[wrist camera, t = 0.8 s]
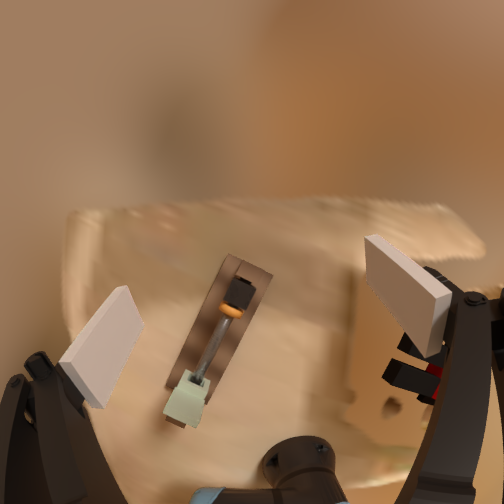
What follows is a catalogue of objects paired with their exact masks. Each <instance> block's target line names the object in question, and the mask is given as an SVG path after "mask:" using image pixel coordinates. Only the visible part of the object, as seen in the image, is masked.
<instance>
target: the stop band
mask: <svg viewBox="0 0 504 504" xmlns="http://www.w3.org/2000/svg"><path fill="white" fill-rule="evenodd" d="M219 310H221V311H222V312H224V313H225V314H227V315H229V316H231V317H234V318H237V319H241V317H242V315H243V313H244V311H243V310H242V309H240V308H239V309H235V308H233V307H231V306H229V305H228V302H226V301H222V302H221V304H220V306H219Z"/></svg>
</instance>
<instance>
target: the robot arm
mask: <svg viewBox="0 0 504 504" xmlns="http://www.w3.org/2000/svg"><path fill="white" fill-rule="evenodd" d="M364 240H365V256H366V279H367V284H368V285H369V286H370V287H371V289H372V290H373V291H374V292H375V294H376V295H377V296H378V297H379V299H380V300H381V301H382V302H383V304H384V305H385V306H386V307H387V309H388V310H389V311H390V313H392V315H393V316H394V317H395V319H396V320H397V322H398V323H399V324H400V326H401V327H402V328H403V329H404V331H405V332H406V333H407V335H408V336H409V337H410V339H411V340H412V342H413V343H414V344H415V346H416V347H417V348H418V350H419V351H420V352H421V354H422V355H423V357H424V358H427V357H430V356H432V355H434V354H437V353H439V352H440V350H441V346H442V342H443V341H445V343H446V344H447V345H448V348H447V352H446V355H445V359H444V362H443V365H442V366H444V367H443V372H442V377H441V381H440V385H439V389H438V393H437V397H436V401H435V404H434V408H433V411H432V414H431V418H430V421H429V424H428V427H427V430H426V433H425V436H424V439H423V441H422V444H421V447H420V449H419V452H418V454H417V457H416V459H415V461H414V464H413V466H412V468H411V471H410V473H409V475H408V477H407V479H406V482H405V484H404V486H403V488H402V490H401V492H400V494H399V496H398V498H397V499H396V501H395V503H394V504H473V503H474V500H475V495H476V494H475V493H476V489H475V488H474V487H473V486H472V483H473V478H474V475H475V471H476V468H477V464H478V460H479V456H480V452H481V447H482V442H483V438H484V432H485V426H486V420H487V413H488V405H489V396H490V384H491V367H492V370H493V375H494V380H495V385H496V390H497V396H498V402H499V408H500V415H501V423H502V435H503V450H504V288H503V289H502V292H501V296H500V298H499V299H493V300H488V298H487V297H485V296H484V295H483V294H481V293H478V292H474V291H472V292H465V293H464V292H463V291H462V290H460V289H459V288H458V287H457V286H456V285H454V284H453V283H452V282H451V281H449V280H447V278H446V277H444V276H442V274H440V273H439V272H438V271H436V270H435V269H432V268H429V267H427V266H425V267H420V266H419V265H418V264H417V263H416V262H414V261H413V260H412V259H410V258H409V257H408V256H406V255H405V254H404V253H402V252H401V251H400V250H398V249H397V248H396V247H394V246H393V245H392V244H390V243H389V242H388V241H386V240H385V239H383V238H382V237H381V236H379V235H378V234H374V235H370V236H365V237H364ZM144 326H145V325H144V323H143V321H142V319H141V317H140V314H139V312H138V310H137V308H136V305H135V303H134V301H133V298H132V296H131V294H130V291H129V289H128V286H127V285H126V286H121V287H116V288H115V290H114V291H113V292H112V293H111V294H110V296H109V297H108V298H107V299H106V300H105V302H104V303H103V304H102V305H101V307H100V308H99V309H98V310H97V312H96V313H95V314H94V315H93V317H92V318H91V319H90V320H89V322H88V323H87V324H86V325H85V327H84V328H83V329H82V331H81V332H80V333H79V335H78V336H77V337H76V338H75V340H74V341H73V342H72V344H71V345H70V347H69V348H68V349H67V350H66V352H65V353H64V355H63V356H62V357H61V359H60V360H59V361H58V363H57V364H56V366H55V367H54V365H53V364H52V362H51V361H50V359H49V358H48V356H47V355H46V353H45V352H43V351H39V352H37V353H34V354H33V355H31V356H30V357H29V358H28V359H27V360H26V362H25V364H24V367H25V368H26V370H27V371H28V373H29V374H30V376H31V377H32V378H33V380H34V381H30V382H28V380H27V379H26V377H25V376H24V375H23V374H17V375H14V376H13V377H11V378H10V380H9V382H8V383H7V385H6V389H5V391H4V394H3V397H2V401H1V404H0V504H128V503H127V501H126V499H125V497H124V496H123V494H122V492H121V490H120V488H119V486H118V484H117V482H116V480H115V478H114V476H113V474H112V472H111V470H110V468H109V466H108V464H107V462H106V459H105V457H104V455H103V453H102V450H101V448H100V445H99V443H98V441H97V438H96V435H95V433H94V430H93V427H92V425H91V422H90V419H89V416H88V413H87V410H86V409H85V407H84V406H83V405H82V403H83V401H84V400H86V401H87V402H88V403H89V405H90V406H91V407H92V408H99V409H105V407H106V405H107V402H108V400H109V398H110V396H111V393H112V391H113V389H114V387H115V385H116V383H117V380H118V378H119V376H120V374H121V372H122V370H123V368H124V366H125V364H126V362H127V360H128V357H129V355H130V353H131V351H132V349H133V347H134V345H135V343H136V341H137V339H138V337H139V335H140V333H141V332H142V330H143V328H144ZM24 412H25V413H26V414H27V415H28V416H29V417H30V418H31V423H29V422H28V421H27V420H26V418H25V415H24ZM503 452H504V451H503ZM263 473H264V476H265V478H266V479H267V481H268V482H269V483H270V485H271V486H272V487H273V489H235V488H226V487H221V488H211V487H203V488H200V489H198V490H196V491H195V493H194V494H193V496H192V498H191V500H190V502H189V504H350V503H349V502H348V500H347V498H346V496H345V494H344V492H343V490H342V488H341V486H340V484H339V482H338V480H337V478H336V476H335V453H334V451H333V449H332V447H331V445H330V444H329V443H328V442H327V441H326V440H324V439H322V438H319V437H315V436H298V437H293V438H290V439H287V440H284V441H282V442H280V443H278V444H277V445H275V446H274V447H272V448H271V449H270V450H269V451H268V452H267V454H266V455H265V457H264V459H263ZM502 504H504V483H503V498H502Z"/></svg>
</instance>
